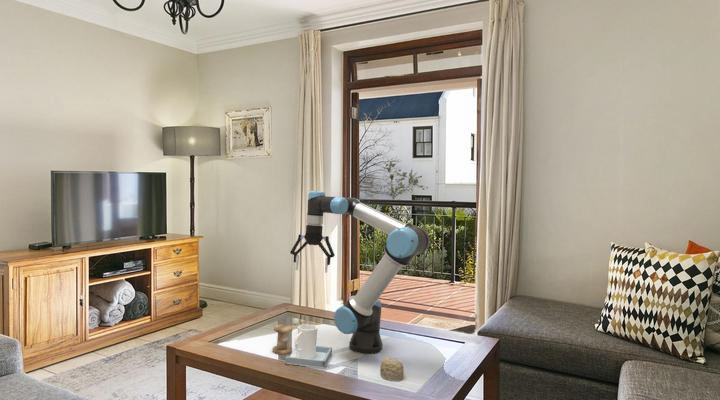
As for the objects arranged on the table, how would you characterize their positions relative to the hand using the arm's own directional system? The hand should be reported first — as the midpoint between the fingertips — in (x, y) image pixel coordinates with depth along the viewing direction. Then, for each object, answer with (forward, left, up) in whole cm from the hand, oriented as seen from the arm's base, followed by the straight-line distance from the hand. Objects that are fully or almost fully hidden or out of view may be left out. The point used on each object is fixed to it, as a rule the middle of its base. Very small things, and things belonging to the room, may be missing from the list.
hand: (311, 271), depth 205 cm
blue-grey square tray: (-5, +19, -33) cm, 39 cm away
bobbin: (+8, +13, -33) cm, 37 cm away
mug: (-3, +19, -33) cm, 38 cm away
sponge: (-40, +27, -34) cm, 59 cm away
